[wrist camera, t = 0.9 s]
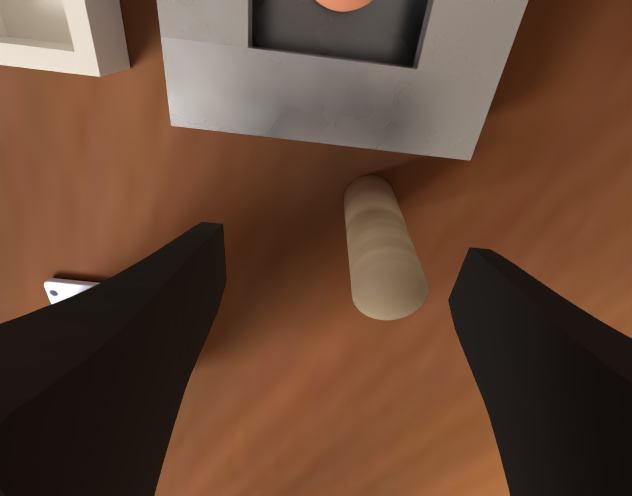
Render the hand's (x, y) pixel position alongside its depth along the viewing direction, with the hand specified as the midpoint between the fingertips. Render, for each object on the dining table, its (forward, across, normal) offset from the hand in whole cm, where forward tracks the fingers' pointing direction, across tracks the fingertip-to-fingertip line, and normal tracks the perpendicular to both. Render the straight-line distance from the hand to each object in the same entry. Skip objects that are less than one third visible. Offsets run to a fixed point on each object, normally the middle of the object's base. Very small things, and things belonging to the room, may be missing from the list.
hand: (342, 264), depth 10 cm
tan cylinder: (+10, -2, +2) cm, 10 cm away
